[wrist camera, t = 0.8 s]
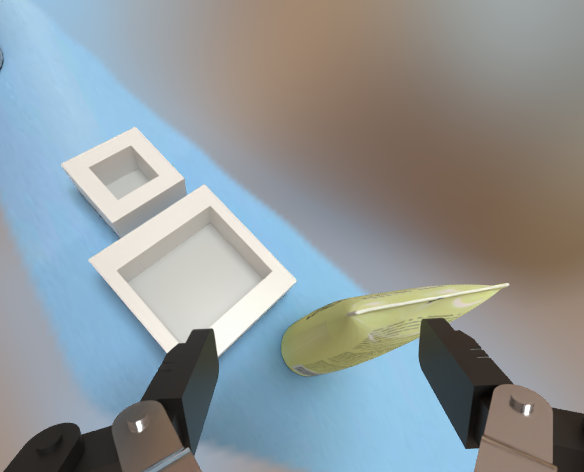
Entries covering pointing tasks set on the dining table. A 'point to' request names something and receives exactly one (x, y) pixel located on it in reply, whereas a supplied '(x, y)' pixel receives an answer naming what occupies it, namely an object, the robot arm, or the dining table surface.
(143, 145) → the endcap
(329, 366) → the tube
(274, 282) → the endcap
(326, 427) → the dining table surface
